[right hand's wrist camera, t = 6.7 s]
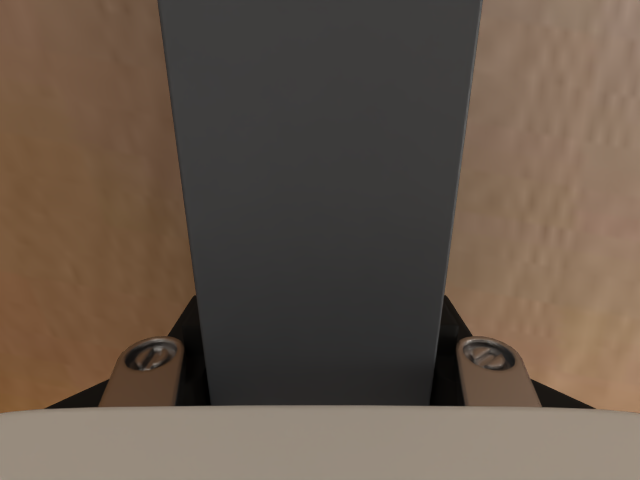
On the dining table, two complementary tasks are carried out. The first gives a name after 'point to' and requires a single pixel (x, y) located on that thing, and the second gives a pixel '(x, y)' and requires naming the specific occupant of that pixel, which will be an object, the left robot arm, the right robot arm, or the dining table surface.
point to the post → (320, 189)
